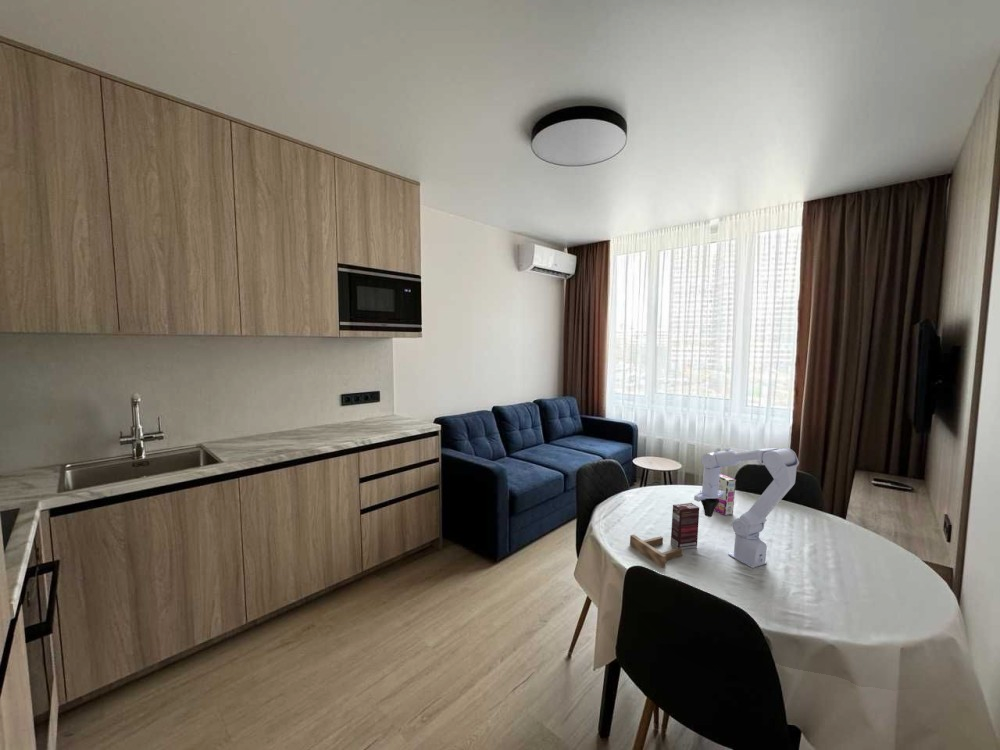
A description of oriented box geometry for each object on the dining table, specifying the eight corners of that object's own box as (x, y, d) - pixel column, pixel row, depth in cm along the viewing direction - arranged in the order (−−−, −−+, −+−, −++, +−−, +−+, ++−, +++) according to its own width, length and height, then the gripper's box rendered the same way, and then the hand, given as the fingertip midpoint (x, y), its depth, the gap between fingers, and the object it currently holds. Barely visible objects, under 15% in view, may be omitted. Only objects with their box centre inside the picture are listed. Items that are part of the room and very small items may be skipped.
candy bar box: (733, 514, 185) (736, 479, 183) (724, 516, 183) (728, 480, 182) (714, 504, 196) (716, 471, 194) (705, 505, 194) (708, 472, 192)
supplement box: (688, 541, 160) (691, 502, 159) (697, 547, 156) (700, 507, 154) (669, 543, 158) (672, 504, 156) (677, 550, 154) (680, 509, 152)
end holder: (688, 559, 147) (689, 549, 147) (662, 567, 142) (662, 556, 141) (654, 538, 161) (655, 529, 161) (629, 545, 156) (630, 535, 156)
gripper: (715, 477, 167) (712, 508, 168) (688, 481, 161) (686, 514, 163) (730, 483, 160) (727, 516, 162) (704, 487, 155) (701, 522, 156)
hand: (708, 515), depth 162 cm, fingers closed
